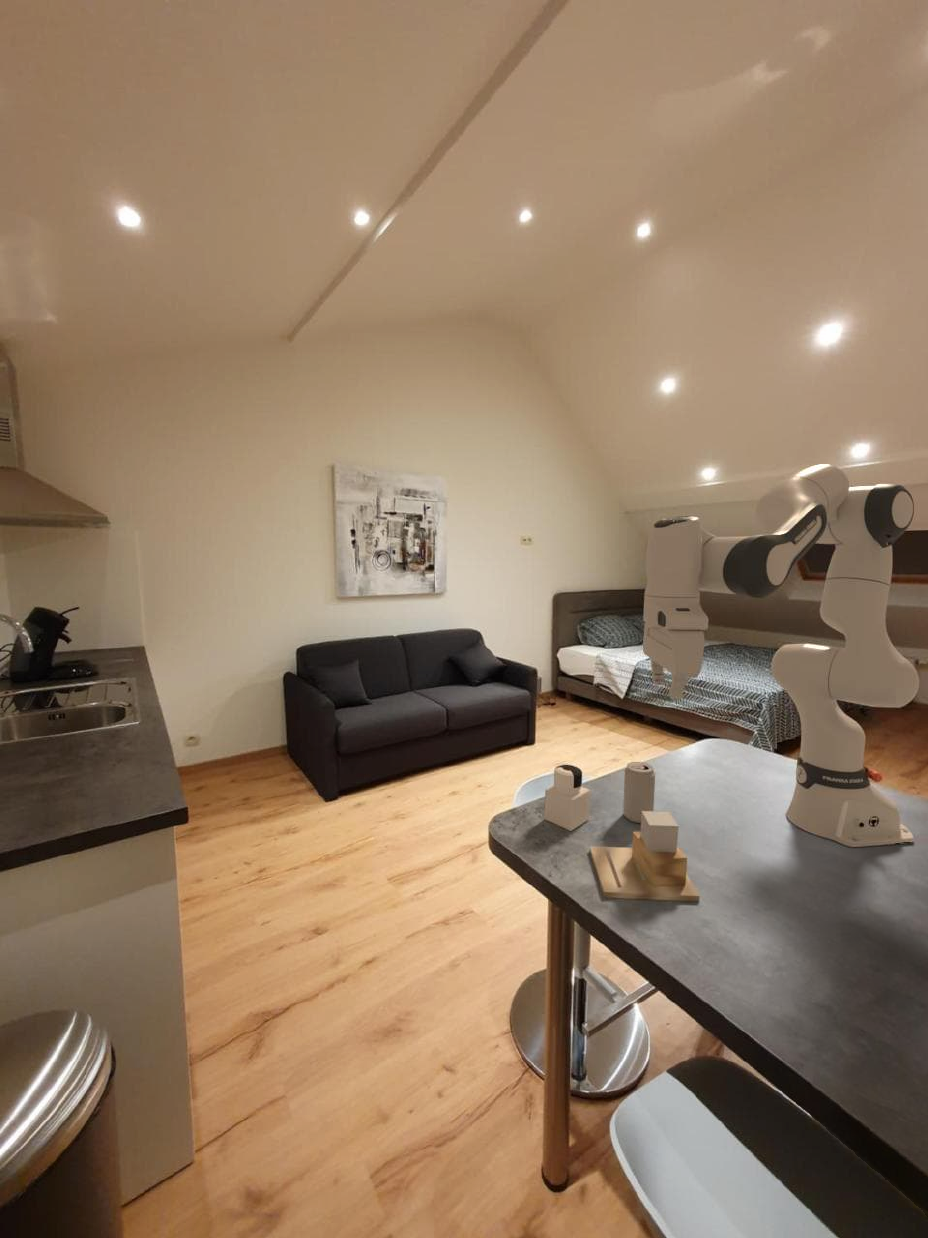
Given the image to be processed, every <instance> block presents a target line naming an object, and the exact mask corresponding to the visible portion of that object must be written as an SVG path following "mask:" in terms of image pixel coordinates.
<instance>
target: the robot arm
mask: <svg viewBox="0 0 928 1238" xmlns="http://www.w3.org/2000/svg"><path fill="white" fill-rule="evenodd" d="M755 513H756V514H755V515H756V516H755V517H756V521H757V523H758V525H759V528H760V529H761V530H762V532H763V534H755V535H750V536H747V535H746V536H742V535H741V536H716V535H715V534H712V533H710V532H709V531H707V530H706V529H704V528H703V526H702V524H701V520H700V518H699V517H696V516H694V515H692V516H691V515H685V516H682V515H681V516H676V517H669V518H664V519H660V520H658V521H656V522H655V523H654V524H653V525H652V527H651V529H650V532H649V535H648V540H647V547H646V558H645V573H646V577H647V578H646V579H647V580H646V581H647V584H646V587H645V590H644V595H643V597H644V599H643V600H644V601H643V618H642V619H643V620H642V621H643V622H644V626H643V627H644V629H643V630H644V631H643V639H642V641H643V642H642V651H643V654H644V655H645V656H647V657H648V658H649V659H650V667H651V670H652V671H651V672H652V683H654V685H657V686H663V685H664V684H665V683H666V674H665V670H666V671H668V673H670V674H671V675H670V677H671V679H672V680H671V685H670V686H668V687H669V688H668V689H669V690H668V696H669V697H670V698H671V699H672V700H678V701H680V700H682V699H683V697H684V689H685V686H686V684H687V682H688V679H694V678H695V679H697V678H698V676H699V675H700V673H701V671H702V667H703V661H704V660H703V659H704V649H705V634H704V632H703V631H706V630H708V628H709V617H708V616H707V614H706V612H704V610H703V609H702V606H701V604H700V602H701V601H700V599H701V593H700V592H709V593H710V592H711V593H717V594H718V593H719V594H730V595H731V594H732V595H737V596H743V597H749V598H753V599H764V598H767V597H769V596H771V595H773V593H775V592H777V590H779V589H780V588H781V587H782V586H783V584H784V583H785V582H786V580H787V578H788V576H789V574H790V573H791V570H792V569H793V567H794V566H796V564H797V563H798V562H799V561H800V560H801V559H802V558H803V557H804V556H805V554H807V553H808V552H809V550H811V548H812V547H813V546H814V545H817V544H822V545H835V549H834V552H833V553H832V556H831V560H830V563H829V566H828V569H827V573H826V577H825V581H824V587H823V592H822V597H821V603H820V607H819V616H820V618H821V620H822V621H823V622H824V623H825V625H828V626H829V627H830V628H832V629H834V630H835V631H838V633H841V634H843V635H844V637H845V638H844V639H845V646H844V647H837V646H831V645H823V644H815V643H792V644H790V643H787V644H784V645H782V646H781V647H780V648H779V649H777V651H775V653H774V655H773V657H772V658H771V664H770V669H771V674H772V677H773V679H774V681H775V683H777V685H779V686H780V687H781V688H782V689H783V690H784V691H785V692H786V693H787V695H789V697H790V699H791V700H792V701H793V704H794V705H795V707H796V709H797V713H798V714H799V715H798V716H799V719H800V725H801V726H800V727H801V728H800V729H801V730H800V731H801V732H800V733H801V735H800V737H801V739H800V740H801V741H800V753H799V754H798V755H797V761H796V770H795V777H796V778H795V781H796V783H795V787H794V791H793V795H792V799H791V800H790V803H789V806H788V808H787V810H786V812H785V815H786V817H787V819H788V820H789V822H791V823H792V824H793V825H795V826H796V827H798V828H799V829H802V830H804V831H806V832H808V833H811V834H813V835H815V836H819V837H822V838H825V839H829V840H832V841H834V842H837V843H839V844H842V845H844V846H846V847H850V848H860V847H861V848H863V847H873V846H884V845H886V844H887V846H889V845H896V844H895V843H900V844H904V843H903V842H911V841H914V835H913V833H912V832H911V831H910V830H909V828H907V827H906V826H905V825H904V824H902V823H901V816H900V812H899V810H898V807H897V806H896V804H895V803H894V802H893V801H892V800H891V799H890V798H888V797H887V796H886V795H885V794H883V793H882V792H881V791H880V790H879V789H878V788H876V787H875V786H874V785H873V784H871V781H870V779H871V780H872V782H874V783H880V782H881V781H883V779H884V776H883V775H882V773H880V772H878V771H876V770H875V769H869V768H868V767H866V766H865V765H863V764H864V757H865V747H866V738H867V737H866V734H865V731H864V729H863V728H862V726H861V725H860V724H859V723H858V722H857V720H854V719H853V718H852V717H850V716H849V715H847V714H846V713H845V712H844V711H843V710H842V709H841V708H840V705H839V704H838V701H842V702H846V703H852V704H856V705H861V706H866V707H867V706H868V707H873V708H895V709H896V708H899V709H900V708H902V707H905V706H906V705H908V704H909V703H911V701H912V700H914V698H915V697H916V695H917V693H918V691H919V688H920V677H919V674H918V673H919V672H918V671H917V669H916V667H915V666H914V665H913V663H912V662H910V661H909V659H907V658H905V657H904V656H903V655H902V654H901V653H900V652H899V651H898V650H897V648H896V647H895V646H894V645H893V643H892V641H891V638H890V637H889V634H888V631H887V625H886V623H887V622H886V619H887V618H886V616H887V606H888V598H889V594H890V588H891V583H892V582H891V581H892V576H893V575H892V574H893V562H894V561H893V560H894V559H893V557H894V556H893V546H892V545H893V544H895V542H896V541H897V540H898V538H900V537H902V535H903V534H904V533H905V532H906V531H907V529H908V528H909V526H911V523H912V521H913V518H914V513H915V503H914V499H913V497H912V493H910V492H909V490H907V489H906V488H905V487H904V486H903V485H901V484H892V483H879V484H876V485H864V486H852V487H850V481H849V478H848V476H847V475H846V474H845V472H844V471H843V470H842V469H841V468H839V467H837V466H834V465H832V464H828V463H827V464H824V463H823V464H816V465H812V466H809V467H806V468H803V469H801V470H799V471H797V472H794V473H792V474H791V475H789V476H787V477H786V478H784V479H783V478H782V480H781V481H779V482H777V483H776V484H774V485H773V486H772V487H770V488H768V489H767V490H766V491H765V492H764V493H763V494H762V495H761V497H760V498H759V499H758V502H757V503H756V509H755ZM664 669H665V670H664ZM901 842H902V843H901ZM911 843H912V842H911Z"/></svg>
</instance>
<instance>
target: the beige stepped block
mask: <svg viewBox="0 0 928 1238" xmlns="http://www.w3.org/2000/svg"><path fill="white" fill-rule="evenodd" d="M544 793H545V794H544V820H545V821H548V822H550V823H552V824H553V825H557V826H559V827H561V828H563V829H565V830H567V831H570V832H572V831H573V830H575V829H576V828H578V827H579V826H582V825H583V824H584V823H585V822H587V821H589V819H590V799H591V797H590V796H591V791H590V789H589V788H586V787H584V786H583V771H582V770H581V769H580V768H579V767H578V766H575V765H572V764H561V765H557V766H556V767H555V768H554V770H553V785H552V786H550V787H548V788H546V789H545V792H544Z"/></svg>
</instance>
